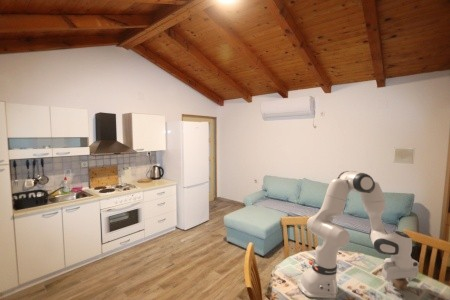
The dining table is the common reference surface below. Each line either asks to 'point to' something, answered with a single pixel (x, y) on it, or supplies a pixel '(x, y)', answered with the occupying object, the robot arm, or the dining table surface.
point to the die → (386, 260)
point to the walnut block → (400, 284)
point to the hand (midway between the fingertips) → (399, 284)
